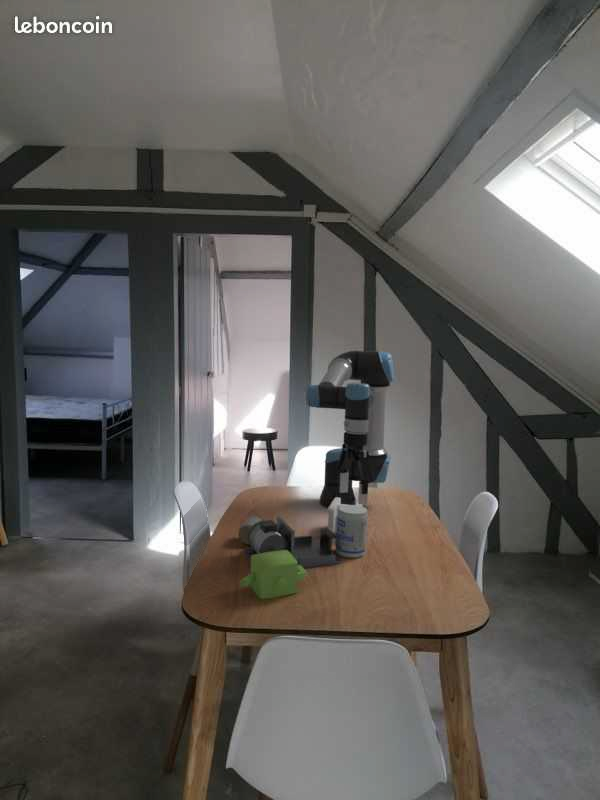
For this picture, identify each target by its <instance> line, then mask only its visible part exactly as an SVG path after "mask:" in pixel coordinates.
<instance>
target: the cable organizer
mask: <svg viewBox="0 0 600 800" xmlns="http://www.w3.org/2000/svg"><path fill="white" fill-rule="evenodd" d="M356 500H357V501H356V504H355V505H357V506H361V507H364V506H363V505H364V504H358V499H356ZM343 505H346V504H341V498H338V497H335V499H333V501H332V503H331V505H330V507H327V511H326V512H327V514H328V520H327V523H328V524H327V528H328V529H329V530H331V531H332V532H333V533H334V534H335V535H336V534H337V517H338V510H339V507H340V506H343Z"/></svg>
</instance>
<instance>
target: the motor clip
mask: <svg viewBox="0 0 600 800" xmlns="http://www.w3.org/2000/svg"><path fill="white" fill-rule="evenodd" d="M319 533H320V535H319V540H318V539H315V540H313V536H312V535H311V534H310V535H302V536H301V535H299V536H295V535H296V531H295V530H294V528H293V527H291V526H290V525H289V524H288V523H287V522H286V521H284V519H282V517H280V516H277V517H276V522H275V521H274V520H273V519H267V520H263V521H260V522H258V523H256V524H254V525H253V526H252V527H251V528H250V530H249V532H248V542H249V544H250V545H249V547H243V548H242V552H243V554H244V555H245V557H246V558H247V560H249V562H250V563H251V555H254V554H259V553H265V552H271V551H279V550H287V551H289V552H290V553H291V554H292V556H293V557H294V558H295V559H296V561H297V562H298V565H301V566H302V567H303V568H304V569H309V568H317V567H325V566H334V565H341V560H340V559H339V558H338V557H337V556H336V555H335V554H334V553H332V552H333V551H332V547H333V545H332V544H333V539H336V533H335V534H334V533H333V532H332V531H331V530H329V529H328V527H325V528H320V532H319ZM250 546H251V547H250Z"/></svg>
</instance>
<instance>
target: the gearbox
mask: <svg viewBox="0 0 600 800" xmlns="http://www.w3.org/2000/svg"><path fill="white" fill-rule="evenodd" d="M307 575H308V572H307V571H306V568H303V567H302V566H301V565H298V562H297V561H296V559H295V558H294V557H293V556H292V554H291V553H290V552H289V551H287V550H279V551H271V552H265V553H259V554H254V555H251V562H250V573H249V574H248V575H246V576H245V577H244V578H242V579H241V580H240V586H242V587H244V588H247V587H248V586H249V585H250V587H251V589H252V590H253V592H254V593H255V595H256V596H257V597H258V598H259V599H260V600H266V599H272V598H273V599H274V598H278V597H279V598H280V597H284V596H285V597H286V596H290V595H294V594H296V593H297V592H298V581H300V580H304V579H306V578H307V577H308V576H307Z"/></svg>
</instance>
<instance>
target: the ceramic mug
mask: <svg viewBox="0 0 600 800" xmlns="http://www.w3.org/2000/svg"><path fill="white" fill-rule="evenodd" d="M260 521H264V520H263V519H262V518H260V517H258V516H250V517H248V518H247V519H246V520H245V522H243V524H242V525H241V526H240V528H239V530H238V538H239V540H240V541H241V543H243V544H245V545H248V546H251V545H250V544H249V542H248V532H249V530H250V528H251V527H252V526H253V525H254V524H256V523H258V522H260Z"/></svg>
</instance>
